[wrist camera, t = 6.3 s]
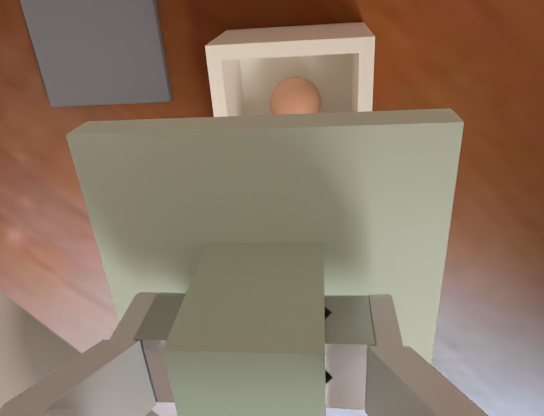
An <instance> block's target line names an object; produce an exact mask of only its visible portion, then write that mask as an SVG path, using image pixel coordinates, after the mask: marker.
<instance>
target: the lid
mask: <svg viewBox="0 0 544 416" xmlns="http://www.w3.org/2000/svg"><path fill="white" fill-rule="evenodd" d="M463 126H464V122H463V120H462V119H461V118H460V117H459V116H458V115H457V114H456V113H455V112H454V111H453V110H452V109H451V108H448V109H420V110H392V111H365V112H337V113H309V114H281V115H253V116H225V117H197V118H169V119H142V120H114V121H86V122H85V123H83V124H82V125H80V126H79V127H77V128H76V129H74V130H73V131H71V132H70V133H68V134H67V135H66V138H67V141H68V145H69V148H70V152H71V155H72V159H73V162H74V166H75V169H76V173H77V176H78V180H79V183H80V187H81V190H82V194H83V197H84V201H85V204H86V208H87V211H88V215H89V218H90V222H91V225H92V229H93V232H94V236H95V239H96V243H97V246H98V250H99V253H100V257H101V260H102V264H103V267H104V271H105V274H106V278H107V281H108V285H109V288H110V292H111V295H112V299H113V302H114V306H115V309H116V313H117V316H118V320H119V323H120V321H121V319H122V317H123V316H124V314H125V312H126V310H127V309H128V307H129V305H130V303H131V302H132V300H133V298H134V296H135V295H136V294H138V293H139V292H157V293H160V292H164V293H186V295H185V297H184V299H183V302H182V304H181V307H180V309H179V312H178V314H177V316H176V319H175V321H174V324H173V326H172V329H171V331H170V333H169V336H168V338H167V341H166V343H165V345H164V348H163V350H162V351H163V355H164V360H165V364H166V368H167V372H168V376H169V381H170V385H171V389H172V393H173V398H174V402H175V406H176V410H177V414H178V416H326V384H325V304H324V295H375V294H390V295H391V296H392V297H393V302H394V306H395V310H396V315H397V319H398V324H399V328H400V333H401V337H402V342H403V346H407V347H411V348H413V349H414V350H415V351H416V352H417V353H418V354H419V355H420V356H422V357H423V358H424V359H425V360H426V361H427V362H428V363H430V364H431V362H432V354H433V347H434V340H435V332H436V325H437V317H438V310H439V303H440V295H441V288H442V281H443V273H444V266H445V259H446V251H447V244H448V236H449V229H450V222H451V214H452V207H453V200H454V192H455V185H456V178H457V170H458V163H459V155H460V148H461V141H462V133H463Z"/></svg>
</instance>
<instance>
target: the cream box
mask: <svg viewBox="0 0 544 416" xmlns="http://www.w3.org/2000/svg"><path fill="white" fill-rule="evenodd" d="M205 51H206V59H207V67H208V75H209V83H210V91H211V98H212V106H213V114H214V117H225V116H253V115H272V113H271V110H270V97H271V93H272V91H273V89H274V88H275V87H276V85H277V84H278V83H279V82H281V81H282V80H284V79H286V78H289V77H302V78H305V79H307V80H309V81H310V82H312V83H313V84H314V85H315V87H316V88H317V90H318V91H319V94H320V98H321V107H320V111H319V113H337V112H365V111H372V101H373V76H374V51H375V36H374V35H373V33H372V32H371V31H370V30H369V28H368V27H367V26H366V24H365V23H364V22H354V23H337V24H320V25H302V26H285V27H268V28H251V29H234V30H226V31H225V32H223V33H222V34H220V35H219V36H218V37H216V38H215V39H214V40H212V41H211V42H209V43H208V44H207V45H205Z"/></svg>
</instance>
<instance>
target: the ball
mask: <svg viewBox="0 0 544 416" xmlns="http://www.w3.org/2000/svg"><path fill="white" fill-rule="evenodd" d="M320 107H321V98H320V94H319V91H318V90H317V88H316V87H315V85H314V84H313V83H312V82H310V81H309V80H307V79H305V78H302V77H289V78H286V79H284V80H282V81H281V82H279V83H278V84H277V85H276V87H275V88H274V89H273V91H272V93H271V97H270V110H271V113H272V115H281V114H309V113H319V111H320Z"/></svg>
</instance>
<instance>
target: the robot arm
mask: <svg viewBox="0 0 544 416" xmlns="http://www.w3.org/2000/svg"><path fill="white" fill-rule="evenodd" d="M185 295H186V293H164V292H160V293H157V292H139V293H138V294H136V295H135V296H134V298H133V300H132V302H131V303H130V305H129V307H128V309H127V310H126V312H125V314H124V316H123V317H122V319H121V321H120V323H119V324H118V326H117V328H116V329H115V331H114V333H113V335H112V336H111V338H110V340H102V341H101V342H99V343H98V344H96V345H95V346H93V347H92V348H90V349H88V350H87V351H85V352H84V353H82V354H81V355H79V356H78V357H76V358H75V359H73V360H71V361H70V362H68V363H67V364H65V365H64V366H62V367H61V368H59V369H58V370H56V371H55V372H53V373H51V374H50V375H48V376H47V377H45V378H44V379H42V380H41V381H39V382H37V383H36V384H34V385H33V386H31V387H30V388H28V389H27V390H25V391H24V392H22V393H20V394H19V395H17V396H16V397H14V398H13V399H11V400H10V401H8V402H7V403H5V404H4V405H3V406H2V407H1V409H0V416H145V415H146V414H147V413H148V412H149V411H150V410H151V409H152V408H153V407H154V406H155V405H156V402H174V398H173V393H172V389H171V385H170V381H169V376H168V372H167V368H166V364H165V360H164V355H163V351H162V350H163V348H164V345H165V343H166V341H167V338H168V336H169V333H170V331H171V329H172V326H173V324H174V321H175V319H176V316H177V314H178V312H179V309H180V307H181V304H182V302H183V299H184V297H185ZM324 304H325V384H326V407H327V408H342V409H358V410H365V412H366V414H367V415H368V416H488V415H487V414H486V413H485V412H484V411H483V410H482V409H480V408H479V407H478V406H477V405H476V404H475V403H474V402H473V401H471V400H470V399H469V398H468V397H467V396H466V395H465V394H463V393H462V392H461V391H460V390H459V389H458V388H457V387H456V386H454V385H453V384H452V383H451V382H450V381H449V380H448V379H446V378H445V377H444V376H443V375H442V374H441V373H440V372H439V371H437V370H436V369H435V368H434V367H433V366H432V365H431V364H430V363H428V362H427V361H426V360H425V359H424V358H423V357H422V356H420V355H419V354H418V353H417V352H416V351H415V350H414V349H413V348H411V347H407V346H403V342H402V337H401V333H400V328H399V324H398V319H397V315H396V310H395V306H394V302H393V297H392V296H391V295H390V294H375V295H324Z"/></svg>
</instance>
